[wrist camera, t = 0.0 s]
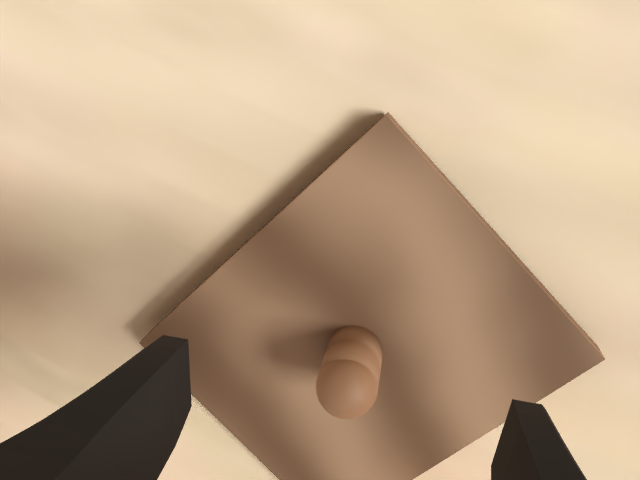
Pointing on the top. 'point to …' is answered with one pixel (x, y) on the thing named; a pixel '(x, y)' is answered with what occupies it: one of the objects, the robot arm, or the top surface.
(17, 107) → the top surface
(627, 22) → the top surface
